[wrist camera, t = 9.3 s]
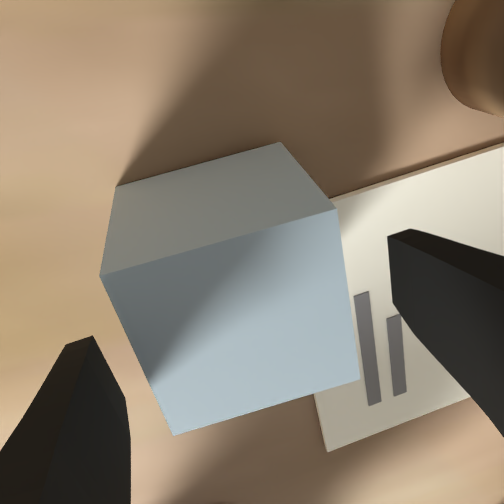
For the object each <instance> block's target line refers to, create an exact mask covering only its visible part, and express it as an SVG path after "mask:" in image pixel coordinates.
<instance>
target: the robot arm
mask: <svg viewBox="0 0 504 504" xmlns="http://www.w3.org/2000/svg"><path fill="white" fill-rule="evenodd" d="M387 243H388V255H389V267H390V279H391V291H392V303H393V304H394V306H395V307H396V309H397V310H398V312H399V313H400V315H401V316H402V318H403V319H404V321H405V322H406V324H407V325H408V327H409V328H410V329H411V331H412V332H413V334H414V335H415V336H416V337H417V338H418V339H419V341H420V342H421V343H422V344H423V345H424V346H425V347H426V348H427V349H428V351H429V352H430V353H431V354H432V355H433V356H434V357H435V358H436V359H437V361H438V362H439V363H440V364H441V365H442V366H443V367H444V368H445V369H446V370H447V371H448V372H449V374H450V375H451V376H452V377H453V378H454V379H455V380H456V381H457V382H458V383H459V384H460V386H461V387H462V388H463V389H464V390H465V391H466V392H467V393H468V394H469V395H470V396H471V398H472V399H473V400H474V401H475V402H476V403H477V404H478V405H479V407H480V408H481V409H482V410H483V411H484V412H485V414H486V415H487V416H488V417H489V418H490V420H491V421H492V422H493V424H494V425H495V426H496V428H497V429H498V430H499V432H500V433H501V434H502V436H503V437H504V256H502V255H499V254H495V253H492V252H488V251H485V250H482V249H478V248H475V247H472V246H469V245H465V244H462V243H459V242H456V241H453V240H449V239H446V238H443V237H440V236H436V235H433V234H430V233H426V232H423V231H419V230H415V229H411V228H410V229H407V230H404V231H401V232H398V233H395V234H392V235H389V236H387ZM0 504H131V438H130V430H129V422H128V414H127V407H126V400H125V397H124V395H123V393H122V391H121V389H120V387H119V385H118V383H117V381H116V379H115V377H114V375H113V373H112V371H111V370H110V368H109V366H108V364H107V362H106V360H105V358H104V356H103V354H102V352H101V350H100V348H99V346H98V345H97V343H96V341H95V339H94V337H93V336H90V337H87V338H84V339H81V340H78V341H75V342H72V343H69V344H66V345H65V347H64V349H63V350H62V352H61V353H60V355H59V357H58V359H57V360H56V362H55V364H54V365H53V367H52V369H51V371H50V372H49V374H48V376H47V378H46V379H45V381H44V383H43V385H42V386H41V388H40V390H39V391H38V393H37V395H36V396H35V398H34V400H33V401H32V403H31V405H30V406H29V408H28V409H27V411H26V413H25V414H24V416H23V418H22V419H21V421H20V422H19V424H18V425H17V427H16V428H15V430H14V431H13V433H12V434H11V436H10V437H9V439H8V440H7V442H6V443H5V445H4V446H3V448H2V449H1V451H0Z"/></svg>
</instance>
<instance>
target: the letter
mask: <svg viewBox="0 0 504 504" xmlns="http://www.w3.org/2000/svg"><path fill="white" fill-rule="evenodd" d="M329 200H330V201H331V202H332V203H333V204H334V206H335V207H336V208H337V212H338V220H339V227H340V234H341V241H342V249H343V256H344V263H345V270H346V278H347V285H348V292H349V299H350V307H351V314H352V321H353V328H354V336H355V343H356V350H357V357H358V365H359V372H360V380H356V381H353V382H350V383H346V384H343V385H340V386H337V387H333V388H330V389H327V390H323V391H320V392H317V393H313V394H314V399H315V403H316V408H317V412H318V417H319V421H320V426H321V431H322V435H323V440H324V444H325V448H326V450H327V452H330V451H333V450H335V449H338V448H340V447H343V446H345V445H348V444H351V443H353V442H356V441H358V440H361V439H363V438H366V437H368V436H371V435H374V434H376V433H379V432H381V431H384V430H386V429H389V428H392V427H394V426H397V425H399V424H402V423H404V422H407V421H410V420H412V419H415V418H417V417H420V416H422V415H425V414H428V413H430V412H433V411H435V410H438V409H440V408H443V407H446V406H448V405H451V404H453V403H456V402H458V401H461V400H464V399H466V398H469V397H471V396H470V395H469V394H468V393H467V392H466V391H465V390H464V389H463V388H462V387H461V386H460V384H459V383H458V382H457V381H456V380H455V379H454V378H453V377H452V376H451V375H450V374H449V372H448V371H447V370H446V369H445V368H444V367H443V366H442V365H441V364H440V363H439V362H438V361H437V359H436V358H435V357H434V356H433V355H432V354H431V353H430V352H429V351H428V349H427V348H426V347H425V346H424V345H423V344H422V343H421V342H420V341H419V339H418V338H417V337H416V336H415V335H414V334H413V332H412V331H411V329H410V328H409V327H408V325H407V324H406V322H405V321H404V319H403V318H402V316H401V315H400V313H399V312H398V310H397V309H396V307H395V306H394V304H393V303H392V291H391V279H390V267H389V255H388V243H387V236H389V235H392V234H395V233H398V232H401V231H404V230H407V229H410V228H411V229H415V230H419V231H423V232H426V233H430V234H433V235H436V236H440V237H443V238H446V239H449V240H453V241H456V242H459V243H462V244H465V245H469V246H472V247H475V248H478V249H482V250H485V251H488V252H492V253H495V254H499V255H502V256H504V142H503V143H500V144H497V145H494V146H491V147H488V148H485V149H482V150H479V151H475V152H472V153H469V154H466V155H463V156H460V157H457V158H454V159H451V160H448V161H445V162H442V163H438V164H435V165H432V166H429V167H426V168H423V169H420V170H417V171H414V172H411V173H408V174H405V175H402V176H398V177H395V178H392V179H389V180H386V181H383V182H380V183H377V184H374V185H371V186H368V187H365V188H361V189H358V190H355V191H352V192H349V193H346V194H343V195H340V196H337V197H334V198H331V199H329Z"/></svg>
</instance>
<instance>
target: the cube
mask: <svg viewBox="0 0 504 504" xmlns="http://www.w3.org/2000/svg"><path fill="white" fill-rule="evenodd" d="M99 276H100V278H101V281H102V283H103V285H104V287H105V289H106V291H107V294H108V296H109V298H110V300H111V302H112V304H113V307H114V309H115V311H116V313H117V315H118V317H119V320H120V322H121V324H122V326H123V328H124V330H125V333H126V335H127V337H128V339H129V341H130V343H131V346H132V348H133V350H134V352H135V354H136V356H137V359H138V361H139V363H140V365H141V367H142V369H143V372H144V374H145V376H146V378H147V380H148V382H149V385H150V387H151V389H152V391H153V393H154V395H155V398H156V400H157V402H158V404H159V406H160V408H161V411H162V413H163V415H164V417H165V419H166V421H167V424H168V426H169V428H170V430H171V432H172V434H173V436H175V435H178V434H181V433H185V432H188V431H191V430H195V429H198V428H201V427H205V426H208V425H211V424H214V423H218V422H221V421H224V420H228V419H231V418H234V417H238V416H241V415H244V414H247V413H251V412H254V411H257V410H261V409H264V408H267V407H271V406H274V405H277V404H280V403H284V402H287V401H290V400H294V399H297V398H300V397H304V396H307V395H310V394H313V393H317V392H320V391H323V390H327V389H330V388H333V387H337V386H340V385H343V384H346V383H350V382H353V381H356V380H360V372H359V365H358V357H357V350H356V343H355V336H354V328H353V321H352V314H351V307H350V299H349V292H348V285H347V278H346V270H345V263H344V256H343V249H342V241H341V234H340V227H339V220H338V212H337V208H336V207H335V206H334V204H333V203H332V202H331V201H330V200H329V199H328V197H327V196H326V195H325V194H324V193H323V191H322V190H321V189H320V188H319V187H318V186H317V184H316V183H315V182H314V181H313V180H312V178H311V177H310V176H309V175H308V174H307V173H306V171H305V170H304V169H303V168H302V167H301V165H300V164H299V163H298V162H297V161H296V159H295V158H294V157H293V156H292V155H291V154H290V152H289V151H288V150H287V149H286V148H285V146H284V145H283V144H282V143H281V142H277V143H274V144H270V145H267V146H263V147H259V148H256V149H252V150H248V151H245V152H241V153H237V154H234V155H230V156H226V157H223V158H219V159H215V160H212V161H208V162H204V163H201V164H197V165H194V166H190V167H186V168H183V169H179V170H175V171H172V172H168V173H164V174H161V175H157V176H153V177H150V178H146V179H142V180H139V181H135V182H131V183H128V184H124V185H121V186H117V187H116V188H115V194H114V199H113V205H112V210H111V216H110V221H109V226H108V232H107V237H106V243H105V248H104V253H103V259H102V264H101V270H100V275H99Z"/></svg>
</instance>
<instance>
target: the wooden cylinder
mask: <svg viewBox="0 0 504 504" xmlns="http://www.w3.org/2000/svg"><path fill="white" fill-rule="evenodd" d="M441 66H442V72H443V76H444V79H445V82H446V84H447V86H448V88H449V90H450V91H451V93H452V94H453V95H454V97H455V98H456V99H457V100H458V101H460V102H461V103H462V104H464V105H466V106H468V107H470V108H473V109H476V110H479V111H482V112H486V113H489V114H492V115H496V116H499V117H502V118H504V0H455V2H454V4H453V6H452V8H451V10H450V13H449V15H448V18H447V20H446V24H445V27H444V31H443V36H442V42H441Z"/></svg>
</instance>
